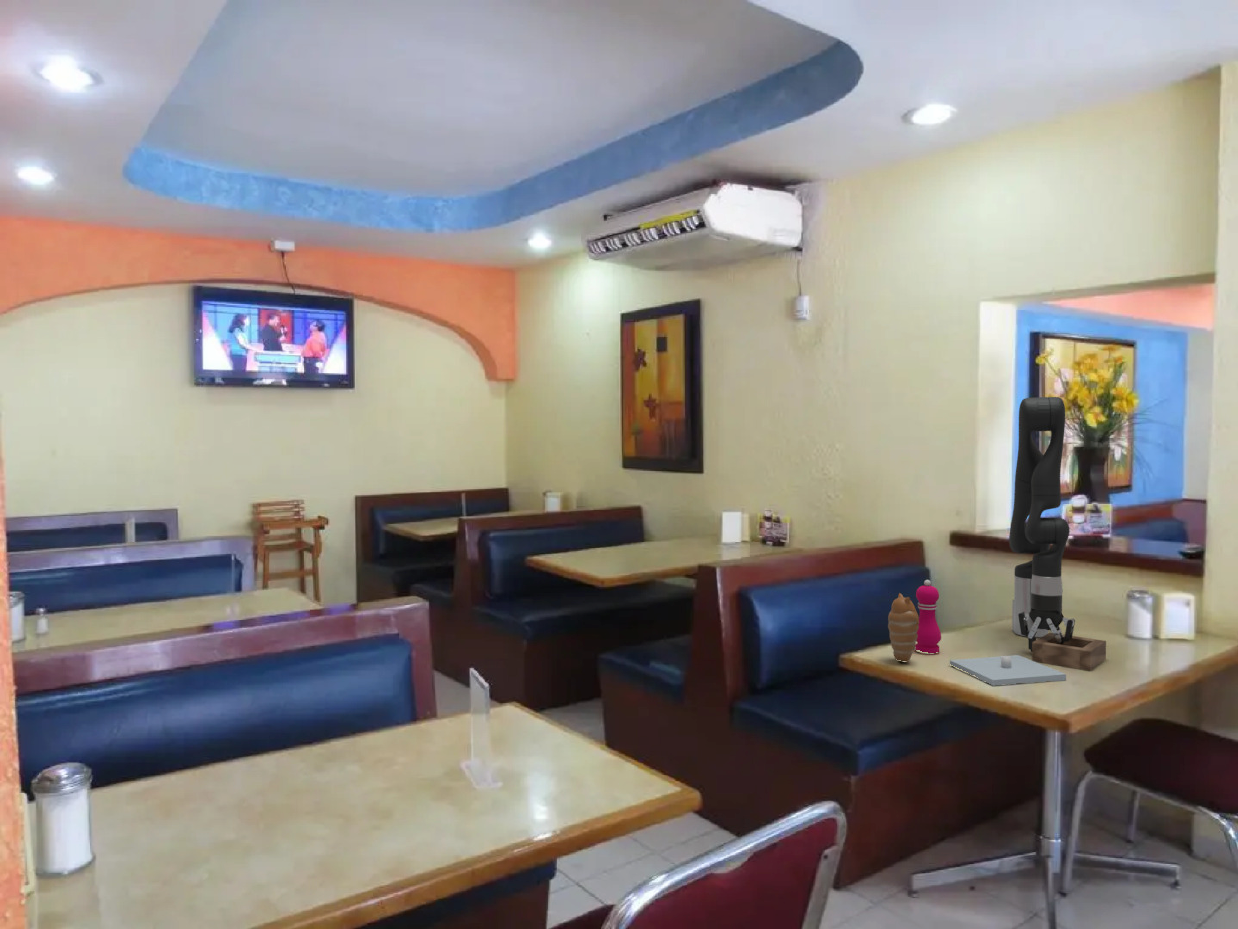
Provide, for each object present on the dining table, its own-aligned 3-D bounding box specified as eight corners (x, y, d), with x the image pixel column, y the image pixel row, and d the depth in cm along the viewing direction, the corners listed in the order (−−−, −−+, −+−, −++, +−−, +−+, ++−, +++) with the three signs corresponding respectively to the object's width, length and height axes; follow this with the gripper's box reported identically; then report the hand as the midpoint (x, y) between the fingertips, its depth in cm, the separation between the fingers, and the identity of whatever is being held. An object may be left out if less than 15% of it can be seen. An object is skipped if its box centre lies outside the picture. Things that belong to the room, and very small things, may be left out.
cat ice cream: (924, 666, 226) (925, 597, 225) (896, 667, 225) (896, 598, 224) (908, 657, 235) (908, 591, 234) (881, 658, 233) (881, 592, 232)
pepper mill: (920, 646, 245) (921, 576, 244) (945, 651, 240) (946, 579, 239) (908, 651, 240) (908, 580, 239) (933, 656, 235) (934, 583, 234)
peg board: (949, 665, 226) (949, 650, 226) (1017, 660, 230) (1018, 645, 230) (992, 686, 208) (993, 669, 208) (1065, 680, 212) (1066, 664, 212)
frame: (1032, 661, 229) (1032, 642, 229) (1049, 650, 239) (1049, 632, 239) (1090, 671, 220) (1090, 651, 219) (1105, 659, 230) (1106, 641, 229)
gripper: (1013, 590, 235) (1013, 652, 235) (1071, 597, 225) (1070, 661, 226) (1023, 586, 240) (1022, 646, 241) (1079, 593, 230) (1079, 655, 231)
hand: (1045, 653), depth 233 cm, fingers open, 5 cm apart
